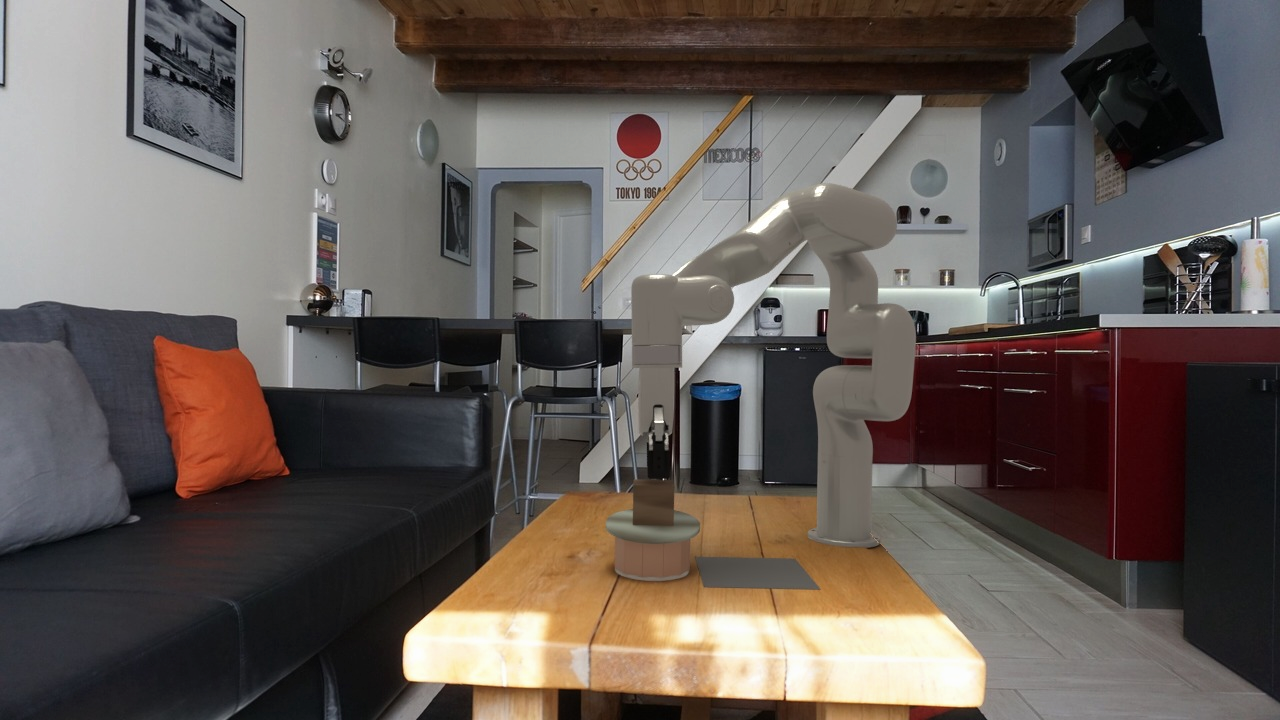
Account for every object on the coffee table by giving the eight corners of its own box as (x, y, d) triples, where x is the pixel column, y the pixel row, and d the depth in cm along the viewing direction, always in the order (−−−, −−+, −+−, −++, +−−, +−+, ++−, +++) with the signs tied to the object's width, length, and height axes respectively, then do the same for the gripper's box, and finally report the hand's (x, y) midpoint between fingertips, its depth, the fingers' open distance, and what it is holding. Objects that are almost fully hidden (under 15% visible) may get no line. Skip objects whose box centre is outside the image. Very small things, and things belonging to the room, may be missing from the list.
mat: (694, 559, 113) (695, 556, 113) (795, 561, 113) (795, 558, 113) (703, 590, 97) (704, 586, 97) (820, 592, 97) (820, 589, 97)
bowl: (616, 562, 111) (616, 523, 111) (686, 563, 111) (687, 525, 111) (613, 583, 100) (614, 540, 100) (691, 584, 100) (692, 541, 100)
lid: (608, 511, 113) (608, 469, 112) (696, 513, 113) (697, 471, 112) (603, 542, 99) (603, 494, 98) (703, 544, 99) (705, 496, 98)
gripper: (632, 358, 115) (633, 464, 115) (631, 358, 97) (632, 483, 97) (679, 358, 115) (679, 464, 115) (685, 357, 97) (686, 482, 97)
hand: (657, 472), depth 106 cm, fingers open, 9 cm apart
